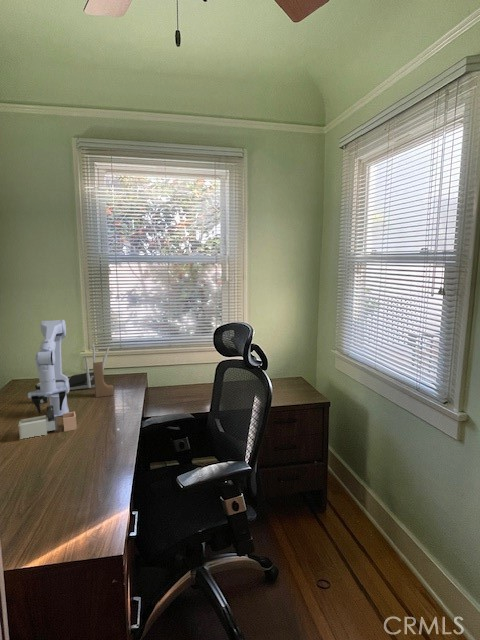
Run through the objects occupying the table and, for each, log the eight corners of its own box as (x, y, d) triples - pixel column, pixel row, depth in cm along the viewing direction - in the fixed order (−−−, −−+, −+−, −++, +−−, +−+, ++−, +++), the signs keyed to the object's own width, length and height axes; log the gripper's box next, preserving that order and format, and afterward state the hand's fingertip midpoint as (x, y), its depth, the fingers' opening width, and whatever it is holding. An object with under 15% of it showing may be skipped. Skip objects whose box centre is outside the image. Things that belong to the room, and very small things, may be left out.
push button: (32, 405, 179) (30, 385, 177) (35, 401, 184) (33, 382, 182) (47, 403, 181) (45, 384, 179) (49, 399, 186) (47, 381, 184)
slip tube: (24, 431, 147) (22, 409, 146) (57, 425, 153) (55, 404, 151) (24, 436, 144) (21, 413, 142) (57, 429, 149) (55, 407, 148)
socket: (63, 425, 155) (62, 413, 154) (75, 423, 157) (74, 411, 156) (64, 431, 150) (63, 418, 149) (76, 429, 152) (75, 416, 151)
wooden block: (113, 392, 195) (111, 360, 193) (113, 395, 191) (111, 362, 188) (95, 394, 192) (93, 362, 189) (95, 397, 188) (93, 364, 185)
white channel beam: (21, 434, 148) (19, 419, 147) (47, 429, 152) (45, 415, 151) (20, 440, 142) (18, 425, 141) (47, 435, 147) (45, 420, 146)
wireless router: (73, 376, 225) (71, 345, 222) (112, 373, 231) (110, 343, 228) (62, 394, 193) (59, 358, 190) (107, 390, 199) (105, 355, 196)
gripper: (26, 385, 140) (29, 418, 142) (67, 379, 147) (70, 411, 149) (27, 380, 146) (30, 412, 148) (66, 375, 153) (69, 405, 155)
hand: (50, 411), depth 149 cm, fingers open, 7 cm apart
